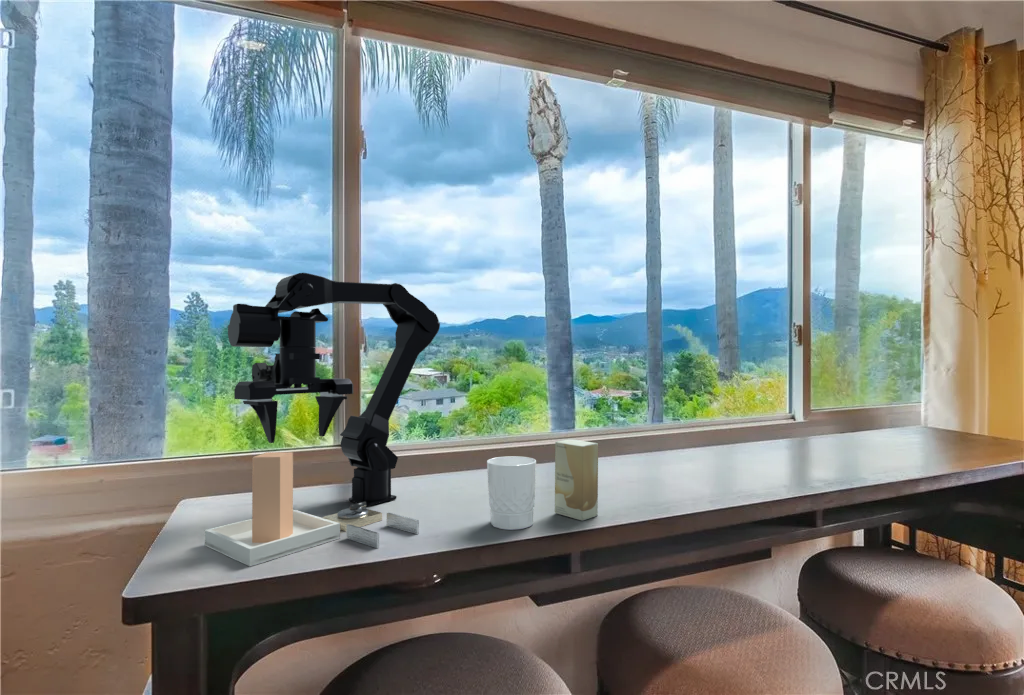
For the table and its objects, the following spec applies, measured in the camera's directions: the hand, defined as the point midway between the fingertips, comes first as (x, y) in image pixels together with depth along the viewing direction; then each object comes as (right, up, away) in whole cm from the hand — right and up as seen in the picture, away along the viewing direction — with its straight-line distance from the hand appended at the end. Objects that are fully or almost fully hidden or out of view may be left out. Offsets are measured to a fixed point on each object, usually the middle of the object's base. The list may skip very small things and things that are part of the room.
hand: (297, 439), depth 89 cm
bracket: (+14, -13, -8) cm, 20 cm away
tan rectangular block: (+2, -12, -13) cm, 18 cm away
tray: (+2, -13, -13) cm, 18 cm away
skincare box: (+47, -13, -1) cm, 49 cm away
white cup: (+36, -13, -5) cm, 39 cm away
